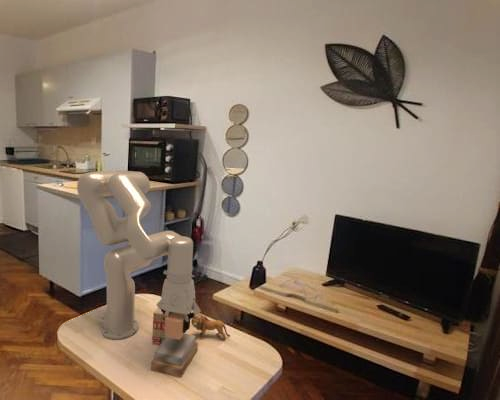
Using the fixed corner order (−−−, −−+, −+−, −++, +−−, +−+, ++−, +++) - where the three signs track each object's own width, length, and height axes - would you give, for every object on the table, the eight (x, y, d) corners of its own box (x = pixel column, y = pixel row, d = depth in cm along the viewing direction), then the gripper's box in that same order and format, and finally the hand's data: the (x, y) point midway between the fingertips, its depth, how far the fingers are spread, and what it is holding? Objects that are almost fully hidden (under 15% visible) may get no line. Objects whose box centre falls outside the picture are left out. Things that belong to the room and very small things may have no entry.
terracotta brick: (164, 336, 105) (165, 319, 104) (175, 323, 113) (176, 307, 112) (179, 339, 104) (180, 321, 103) (189, 326, 112) (190, 309, 111)
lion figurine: (189, 341, 121) (191, 318, 119) (190, 332, 126) (191, 310, 124) (230, 341, 123) (232, 318, 121) (229, 332, 128) (231, 311, 126)
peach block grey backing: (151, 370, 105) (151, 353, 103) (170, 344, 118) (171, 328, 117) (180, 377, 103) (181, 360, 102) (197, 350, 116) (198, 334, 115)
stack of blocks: (173, 313, 138) (175, 285, 136) (188, 315, 138) (190, 288, 135) (151, 344, 118) (153, 312, 115) (169, 347, 117) (170, 314, 114)
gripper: (148, 276, 103) (147, 330, 106) (201, 285, 100) (198, 340, 103) (160, 267, 110) (158, 318, 113) (209, 275, 107) (206, 327, 110)
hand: (177, 328), depth 108 cm, fingers closed on terracotta brick, 4 cm apart
